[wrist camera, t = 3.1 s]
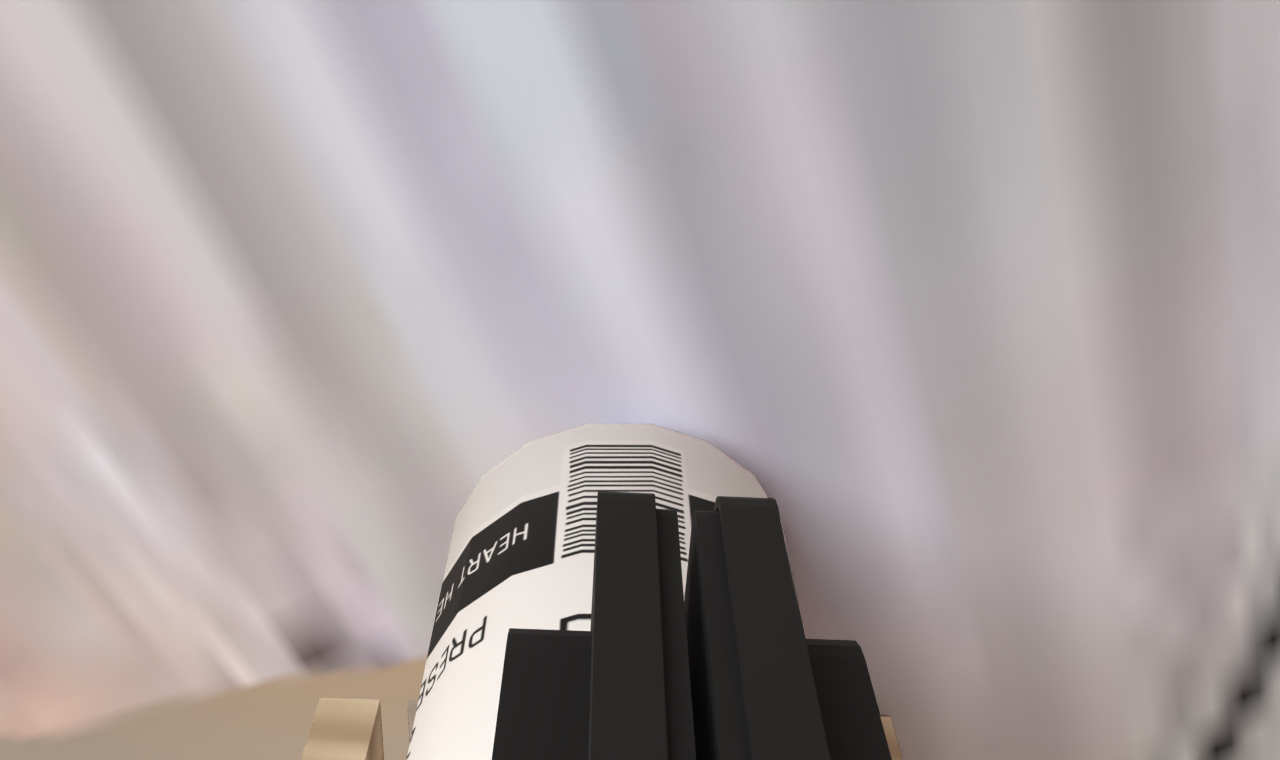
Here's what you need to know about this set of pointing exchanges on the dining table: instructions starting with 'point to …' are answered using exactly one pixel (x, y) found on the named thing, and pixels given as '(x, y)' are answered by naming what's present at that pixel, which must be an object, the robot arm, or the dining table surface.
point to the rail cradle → (352, 731)
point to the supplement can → (544, 559)
